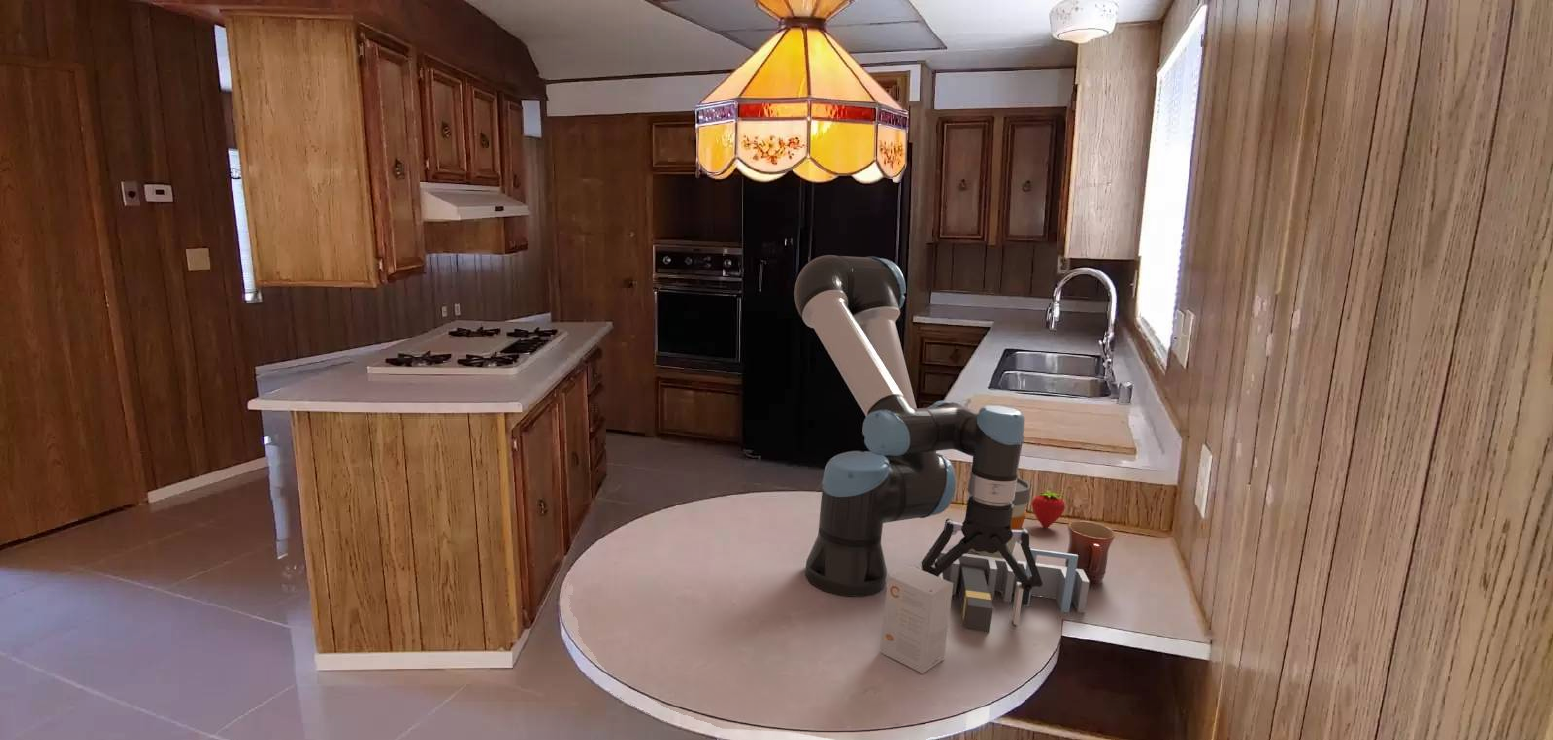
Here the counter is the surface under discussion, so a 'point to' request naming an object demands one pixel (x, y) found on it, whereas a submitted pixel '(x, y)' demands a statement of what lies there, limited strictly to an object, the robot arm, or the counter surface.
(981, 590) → the grey banded bar
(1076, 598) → the grey slotted rack
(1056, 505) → the strawberry
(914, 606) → the small box
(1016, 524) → the reusable coffee cup
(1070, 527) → the mug
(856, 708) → the counter surface
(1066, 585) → the blue bezel
